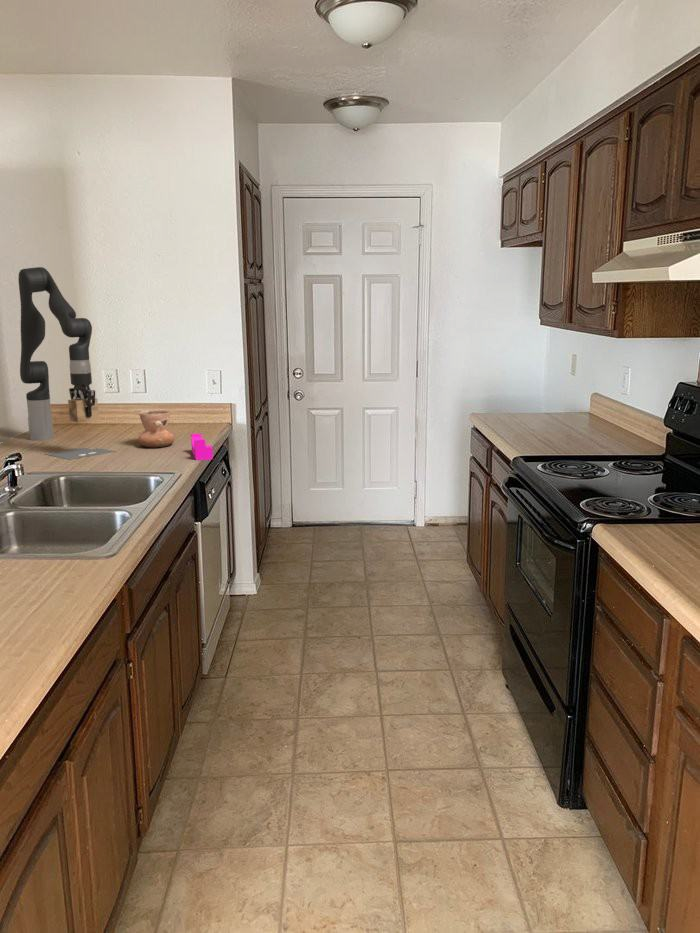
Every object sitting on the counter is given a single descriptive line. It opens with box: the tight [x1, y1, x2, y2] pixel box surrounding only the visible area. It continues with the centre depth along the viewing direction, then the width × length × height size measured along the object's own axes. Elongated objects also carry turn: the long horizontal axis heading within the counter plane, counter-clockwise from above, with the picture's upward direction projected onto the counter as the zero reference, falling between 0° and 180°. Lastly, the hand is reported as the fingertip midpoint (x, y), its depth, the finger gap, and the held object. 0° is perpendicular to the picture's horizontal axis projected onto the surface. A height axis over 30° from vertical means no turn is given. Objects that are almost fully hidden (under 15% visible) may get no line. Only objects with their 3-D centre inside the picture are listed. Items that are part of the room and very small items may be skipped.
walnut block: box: [67, 397, 100, 423], centre depth 283 cm, size 6×9×8 cm, turn 143°
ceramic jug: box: [137, 409, 176, 449], centre depth 302 cm, size 18×14×14 cm
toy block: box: [190, 433, 214, 461], centre depth 283 cm, size 15×6×8 cm, turn 18°
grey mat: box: [44, 446, 116, 461], centre depth 290 cm, size 17×20×1 cm
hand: (84, 415), depth 284 cm, fingers closed on walnut block, 5 cm apart
